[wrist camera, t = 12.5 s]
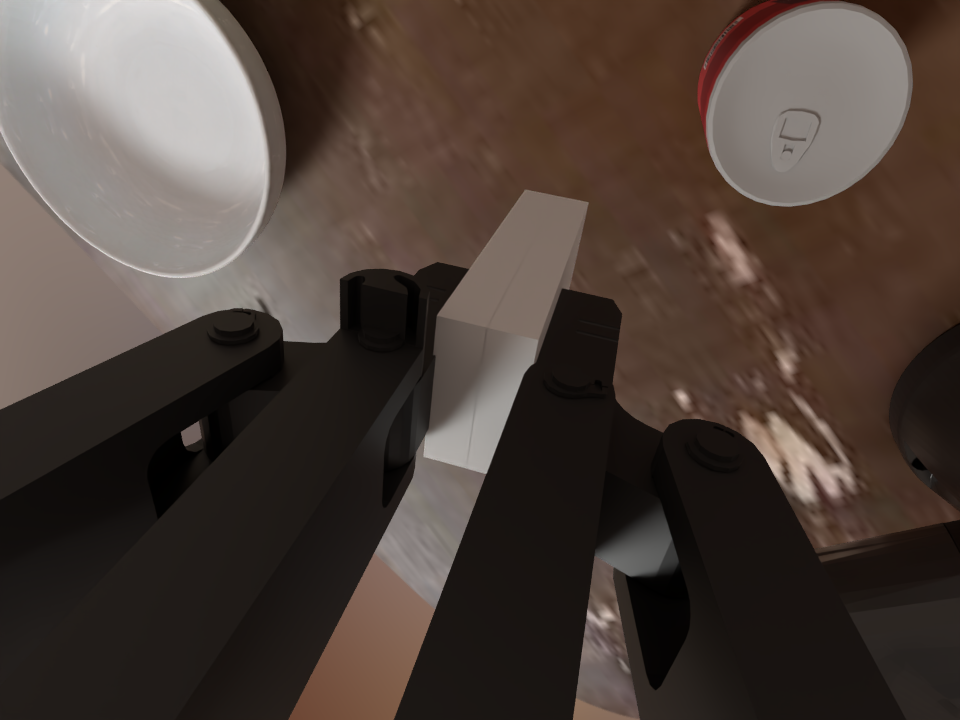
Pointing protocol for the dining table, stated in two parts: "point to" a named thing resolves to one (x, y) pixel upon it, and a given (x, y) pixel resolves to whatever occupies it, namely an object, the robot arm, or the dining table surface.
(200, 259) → the serving bowl
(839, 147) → the canned food
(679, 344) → the dining table surface
